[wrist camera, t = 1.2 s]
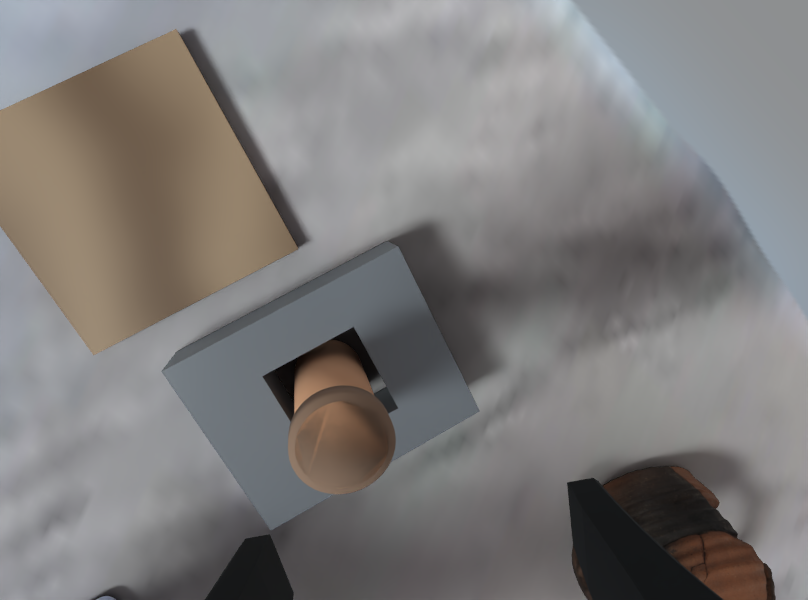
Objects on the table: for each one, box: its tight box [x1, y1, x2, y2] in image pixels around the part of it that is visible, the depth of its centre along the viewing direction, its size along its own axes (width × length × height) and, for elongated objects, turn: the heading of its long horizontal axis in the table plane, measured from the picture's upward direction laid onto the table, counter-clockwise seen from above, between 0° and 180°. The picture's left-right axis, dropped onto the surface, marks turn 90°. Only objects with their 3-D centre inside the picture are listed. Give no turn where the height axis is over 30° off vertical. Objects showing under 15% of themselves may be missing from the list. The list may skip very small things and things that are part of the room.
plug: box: [288, 340, 396, 494], centre depth 20 cm, size 3×3×7 cm
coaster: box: [0, 29, 298, 355], centre depth 20 cm, size 9×9×1 cm
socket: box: [162, 241, 479, 530], centre depth 22 cm, size 10×8×2 cm
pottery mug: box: [572, 466, 776, 600], centre depth 26 cm, size 12×10×8 cm
